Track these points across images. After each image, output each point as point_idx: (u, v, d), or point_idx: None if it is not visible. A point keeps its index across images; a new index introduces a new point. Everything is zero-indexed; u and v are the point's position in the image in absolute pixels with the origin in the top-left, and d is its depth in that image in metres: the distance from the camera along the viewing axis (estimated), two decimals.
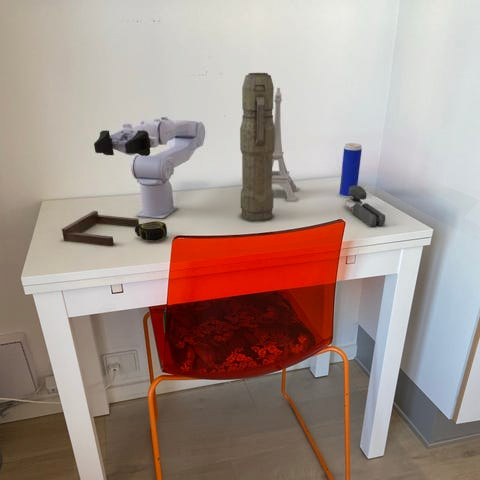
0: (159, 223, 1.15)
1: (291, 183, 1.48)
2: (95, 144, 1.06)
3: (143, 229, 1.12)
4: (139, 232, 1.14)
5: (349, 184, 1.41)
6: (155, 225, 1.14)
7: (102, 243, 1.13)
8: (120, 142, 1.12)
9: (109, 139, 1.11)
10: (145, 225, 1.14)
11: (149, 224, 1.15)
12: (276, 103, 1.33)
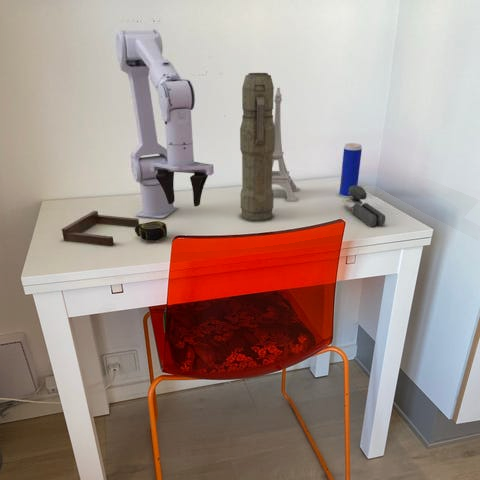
0: (159, 223, 1.15)
1: (291, 183, 1.48)
2: None
3: (143, 229, 1.12)
4: (139, 232, 1.14)
5: (349, 184, 1.41)
6: (155, 225, 1.14)
7: (102, 243, 1.13)
8: None
9: (167, 178, 1.06)
10: (145, 225, 1.14)
11: (149, 224, 1.15)
12: (276, 103, 1.33)
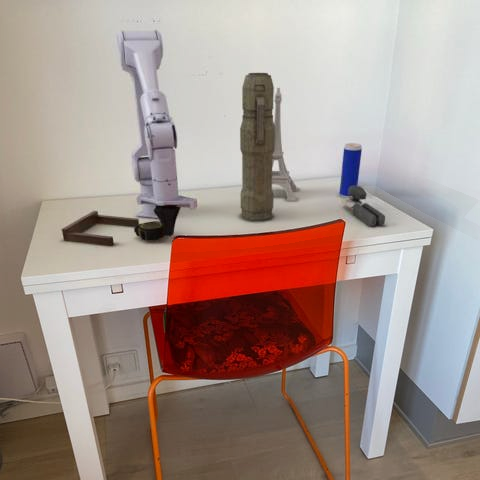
0: (158, 223, 1.15)
1: (291, 183, 1.48)
2: None
3: (142, 229, 1.12)
4: (138, 232, 1.14)
5: (349, 184, 1.41)
6: (155, 224, 1.14)
7: (102, 243, 1.13)
8: None
9: None
10: (144, 225, 1.14)
11: (148, 224, 1.15)
12: (276, 103, 1.33)
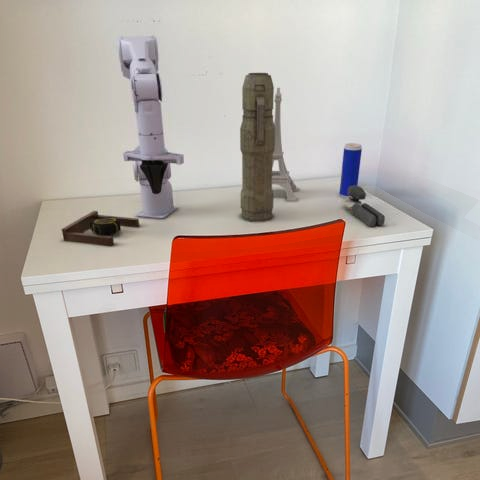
0: (113, 218, 1.18)
1: (291, 183, 1.48)
2: None
3: (96, 224, 1.15)
4: (93, 227, 1.18)
5: (349, 184, 1.41)
6: (109, 220, 1.17)
7: (102, 243, 1.13)
8: None
9: None
10: (99, 220, 1.17)
11: (103, 219, 1.18)
12: (276, 103, 1.33)
